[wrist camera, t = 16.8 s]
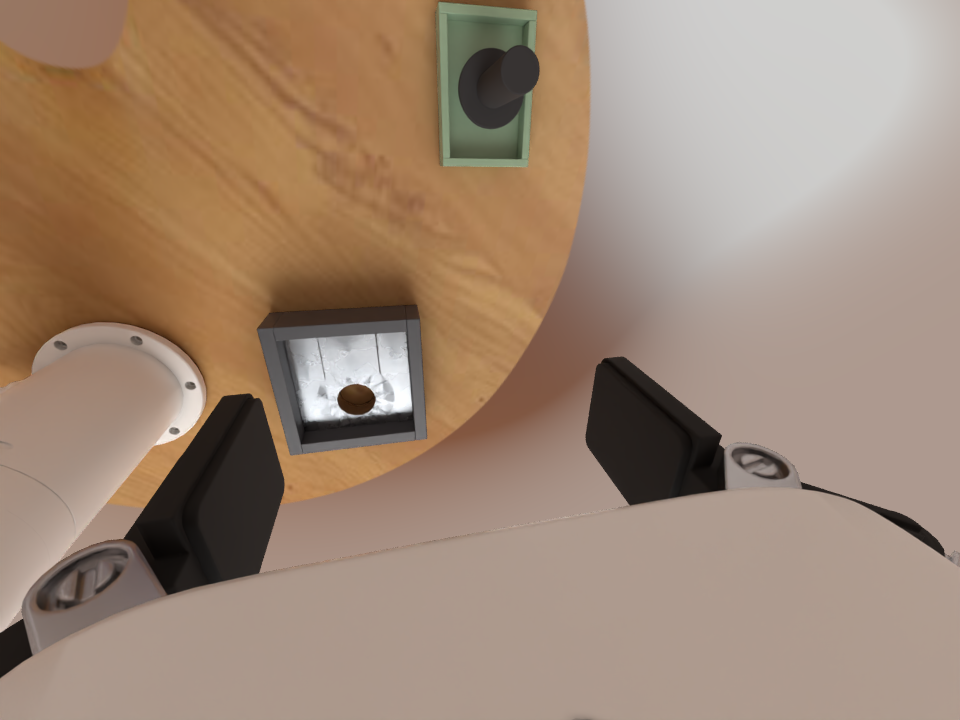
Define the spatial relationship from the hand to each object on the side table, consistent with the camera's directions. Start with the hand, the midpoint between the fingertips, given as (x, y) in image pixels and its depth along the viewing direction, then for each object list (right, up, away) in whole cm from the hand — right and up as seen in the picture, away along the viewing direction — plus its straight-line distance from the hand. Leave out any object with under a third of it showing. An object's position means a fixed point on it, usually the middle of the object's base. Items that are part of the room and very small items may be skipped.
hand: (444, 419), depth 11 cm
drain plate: (-12, +1, +29) cm, 31 cm away
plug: (+1, +23, +20) cm, 30 cm away
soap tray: (+1, +23, +21) cm, 31 cm away
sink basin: (-12, +1, +29) cm, 31 cm away
